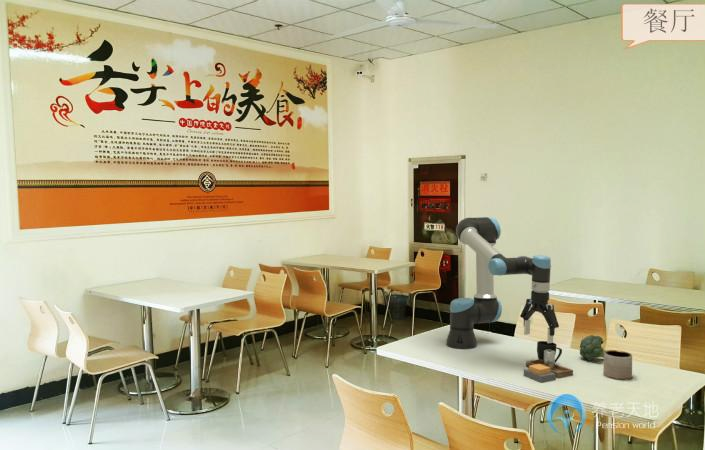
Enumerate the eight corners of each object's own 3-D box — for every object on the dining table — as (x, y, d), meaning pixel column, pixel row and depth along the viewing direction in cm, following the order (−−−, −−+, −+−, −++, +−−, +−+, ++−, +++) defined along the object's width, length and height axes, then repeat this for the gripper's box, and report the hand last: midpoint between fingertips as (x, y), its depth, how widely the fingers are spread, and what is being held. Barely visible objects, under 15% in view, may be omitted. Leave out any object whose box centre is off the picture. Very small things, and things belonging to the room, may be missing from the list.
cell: (541, 368, 239) (541, 349, 239) (548, 367, 241) (549, 347, 241) (549, 371, 235) (549, 351, 235) (556, 370, 237) (557, 350, 237)
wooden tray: (525, 366, 244) (526, 361, 244) (541, 363, 248) (541, 358, 248) (557, 378, 228) (557, 373, 228) (572, 375, 232) (573, 370, 232)
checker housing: (523, 375, 232) (523, 369, 232) (537, 372, 235) (537, 367, 235) (541, 382, 223) (541, 376, 223) (555, 379, 227) (555, 373, 226)
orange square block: (528, 373, 231) (528, 365, 230) (539, 371, 233) (539, 363, 233) (539, 377, 225) (539, 369, 225) (550, 375, 228) (550, 367, 228)
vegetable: (619, 361, 245) (588, 346, 245) (601, 374, 254) (572, 359, 254) (618, 340, 254) (589, 325, 254) (601, 353, 263) (572, 339, 263)
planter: (597, 373, 234) (598, 351, 234) (616, 370, 239) (616, 348, 238) (618, 381, 224) (619, 358, 224) (637, 378, 229) (638, 355, 228)
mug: (553, 369, 241) (554, 348, 240) (532, 362, 251) (533, 341, 251) (565, 368, 245) (567, 346, 244) (544, 360, 255) (546, 340, 255)
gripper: (513, 286, 250) (511, 331, 252) (556, 297, 228) (553, 347, 230) (525, 285, 253) (524, 330, 255) (569, 296, 231) (566, 345, 233)
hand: (538, 338), depth 242 cm, fingers open, 13 cm apart
